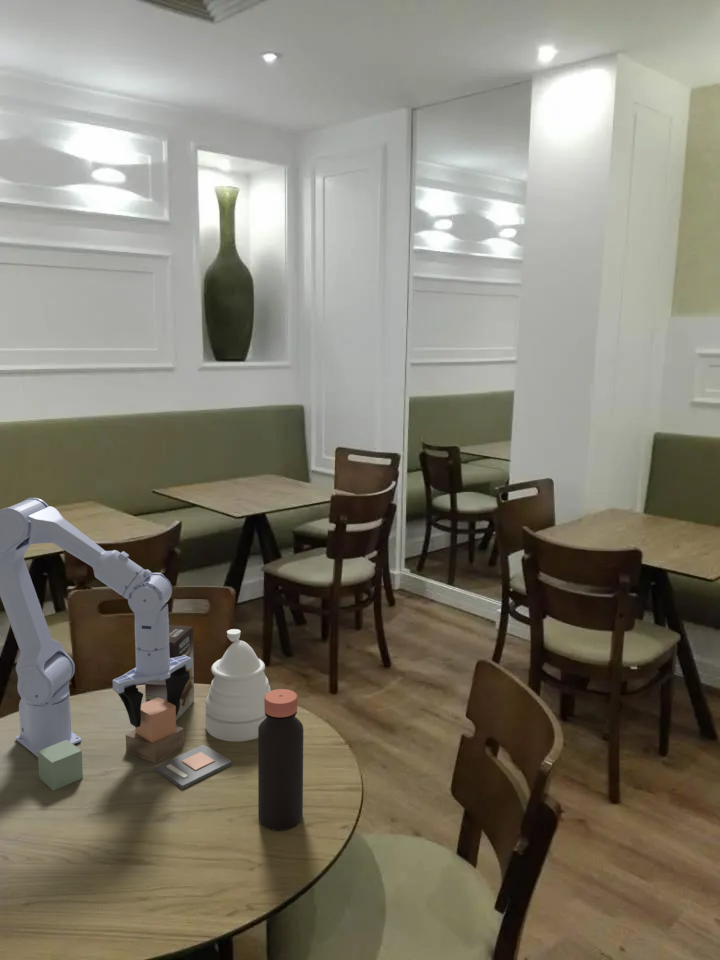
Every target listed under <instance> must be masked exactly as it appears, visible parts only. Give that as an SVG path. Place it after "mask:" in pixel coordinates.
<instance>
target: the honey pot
mask: <svg viewBox="0 0 720 960" xmlns="http://www.w3.org/2000/svg"><path fill="white" fill-rule="evenodd" d="M226 636H227V638H228V640H229V641H230V642H232V644H231V645H229V646H228V647H227V649H226V651H225V652H224V654H223V656H222V657H221V658H220V659H217V660H216V661H215V662H213V664H212V665H211V668H210V671H211V673H212V676H214V677H213V679H212V680H211V683H210V687H209V689H208V694H207V696H206V699H205V703H204V704H205V728H206V732H207V733H208V734H209V735H210V736H212V737H213V738H215V739H218V740H220V741H221V740H222V741H226V742H247V741H251V740H252V741H253V740H255V739H258V727H259V725H260V724H261V722H262V721H263V720H264V719H265V718H266V715H265V709H264V696H265V694H267V693H268V692H270V691H272V690H271V686H270V684H269V679H268V677H267V676H266V673H265V669H266V665H265V662H264V660H261V658H259V657H258V656H257V654H256V652H255V651H254V649H253V648H252V646H250V644H248V643H247V642H246V641H244V640H240V637H241V630H240V629H237V628H231V629H228V630H226Z"/></svg>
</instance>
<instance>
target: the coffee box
mask: <svg viewBox="0 0 720 960" xmlns="http://www.w3.org/2000/svg"><path fill="white" fill-rule="evenodd" d="M169 651H170V658H175V657H180V656H183V655H186V656H188V657H190V658H191V668H189V669H186V671H187V672H189V673H190V679H189V680H188V682H187V684H186V686H185V688H184V690H183V692H182V695H181V699H180V702H179V707H178V711H176V721H177V720H178V719H180V717H181V716H182V715H183V714H184V713H186V711H187V709H189V708H190V707H191V705H193V703H194V702H195V681H194V679H195V678H194V674H195V673H194V672H195V671H194V669H195V668H194V667H195V666H194V626H191V625H180V624H169ZM144 687H145V689H144V690H145V697H144V699H145V702H147V701H150V700H152V699H155V698H158V697H160V698H162V699H164V700H166V701H167V688H166V682H165V680H159V679H157V680H151V681H148V682H145V683H144Z"/></svg>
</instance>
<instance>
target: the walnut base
mask: <svg viewBox="0 0 720 960" xmlns="http://www.w3.org/2000/svg"><path fill="white" fill-rule="evenodd" d="M184 737H185V736H184V728H183V727H180V726H178V725H176V732H175V733H173V734H171V735H168V736H166V737H164V738H162V739H159V740H157V741H155V742H153V743H152V742H150V741H148V740H147V739H145V738H143V737H142V736H140V735H138V734H137V733H136V730H135V729H134V730H131V731H130V732H128V733H126V734H125V750H126V752H127V753H130V754H132V755H134V756H137V757H139V758H142V759H145V760H147V761H150V762H153V763H158V762H159V761H161V760H162V759H164V758H165V757H166V756H168V755H170V754H172V753H173V752H175V751H177V750H178V749H180V748H181V747H183V746H184V745H185V744H184V743H185V742H184Z"/></svg>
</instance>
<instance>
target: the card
mask: <svg viewBox="0 0 720 960" xmlns="http://www.w3.org/2000/svg"><path fill="white" fill-rule="evenodd" d="M229 766H232V761H231V760H230V759H228V758H227V757H225V756H223V755H221V754H220V753H219V752H217V751H215V750H214V749H212V748H210V747H209V746H207V745H205V744H204V743H203V744H200V745H199V746H197V747H194V748H193V749H190V750H188V751H186V752H184V753H182V754H179V755H177V756H175V757H173V758H171V759H169V760H166V761H164V762H162V763H160V764H157V765H155V766H154V771H156V772H157V773H159V774H160V775H162V776H163V777H164V778H166V779H167V780H169V781H170V782H172V783H173V784H175V785H176V786H178V788H180V789H182V790H183V789H185V788H187V787H189V786H191V785H194V784H195V783H198V782H200V781H201V780H204V779H205V778H207V777H210V776H211V775H212V776H213V774H215V773H218V772H220V771H221V770H223V769H226V768H227V767H229Z"/></svg>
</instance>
